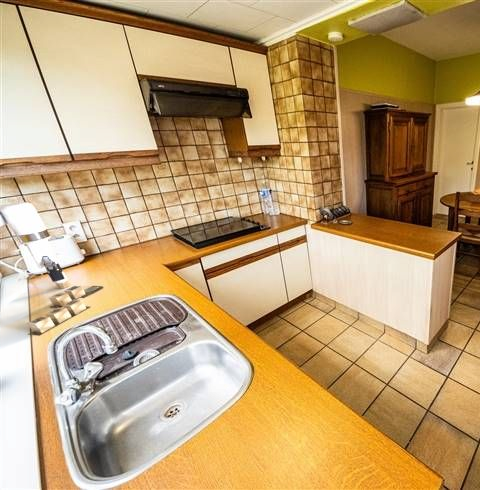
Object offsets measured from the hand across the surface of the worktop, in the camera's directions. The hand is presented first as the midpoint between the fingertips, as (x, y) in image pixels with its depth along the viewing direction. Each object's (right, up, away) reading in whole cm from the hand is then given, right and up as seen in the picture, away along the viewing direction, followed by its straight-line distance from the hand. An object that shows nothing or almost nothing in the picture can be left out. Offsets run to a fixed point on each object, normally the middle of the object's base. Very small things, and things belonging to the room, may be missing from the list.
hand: (58, 276), depth 104 cm
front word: (-4, -19, +5) cm, 20 cm away
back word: (-15, -13, +21) cm, 29 cm away
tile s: (-5, -21, 0) cm, 21 cm away
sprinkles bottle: (-34, -9, +32) cm, 47 cm away
